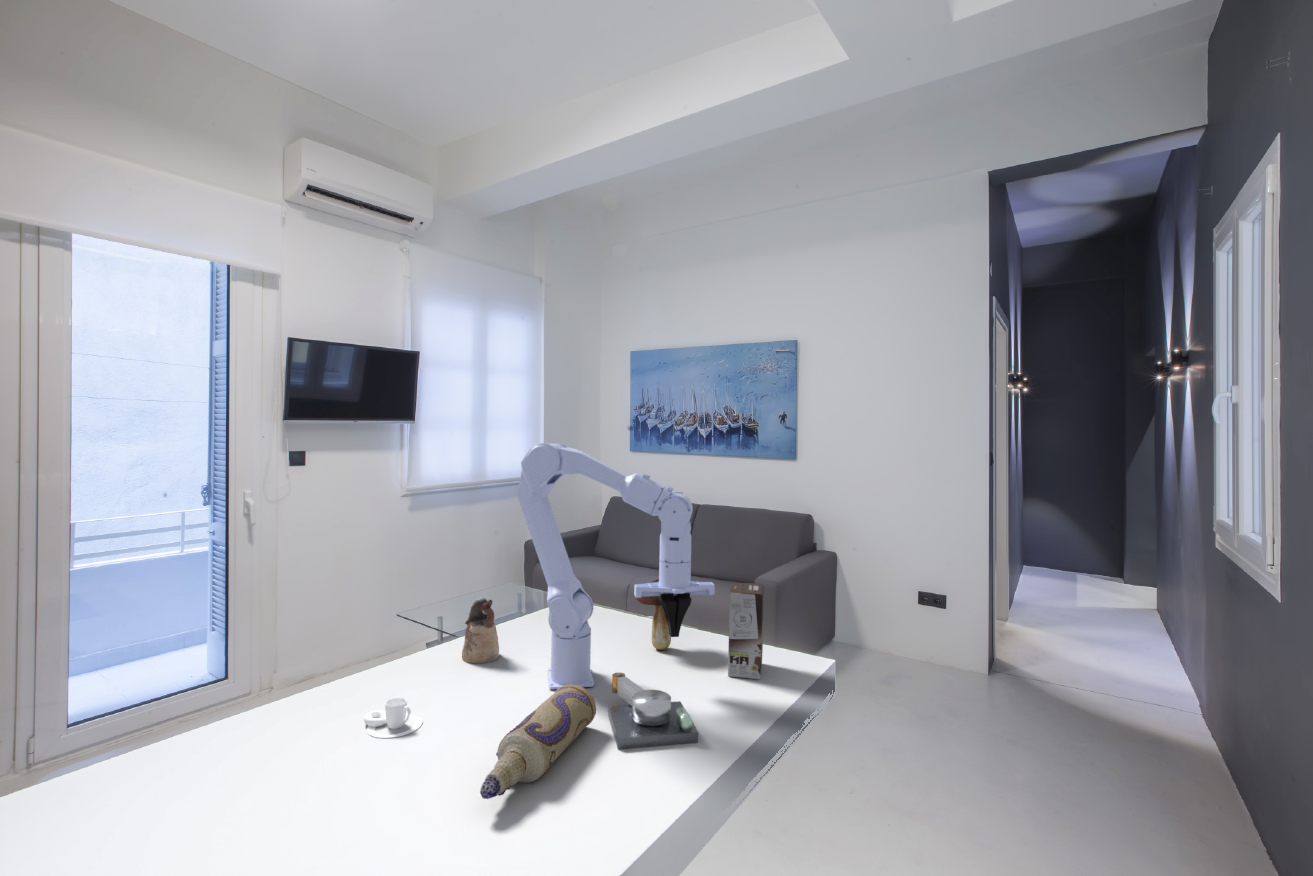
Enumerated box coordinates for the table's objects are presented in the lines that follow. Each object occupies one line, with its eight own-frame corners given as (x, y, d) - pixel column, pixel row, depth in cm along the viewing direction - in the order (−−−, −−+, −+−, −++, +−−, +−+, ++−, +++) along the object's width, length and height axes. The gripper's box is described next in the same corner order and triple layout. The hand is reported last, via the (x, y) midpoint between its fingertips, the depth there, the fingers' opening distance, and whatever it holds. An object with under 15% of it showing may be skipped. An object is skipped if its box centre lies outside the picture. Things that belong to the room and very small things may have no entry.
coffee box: (761, 680, 117) (763, 594, 117) (727, 677, 119) (728, 591, 119) (763, 663, 126) (764, 583, 126) (731, 660, 128) (732, 581, 127)
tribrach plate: (608, 715, 101) (608, 694, 101) (680, 710, 104) (680, 689, 104) (617, 749, 91) (618, 725, 91) (697, 742, 93) (698, 718, 93)
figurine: (483, 649, 132) (484, 592, 132) (506, 656, 128) (507, 597, 128) (455, 658, 126) (456, 598, 126) (477, 666, 122) (478, 604, 122)
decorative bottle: (553, 721, 99) (554, 679, 99) (597, 729, 97) (598, 686, 97) (453, 813, 75) (454, 757, 75) (508, 827, 73) (510, 769, 73)
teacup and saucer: (355, 727, 97) (356, 700, 97) (405, 711, 103) (406, 686, 103) (380, 746, 91) (380, 718, 91) (432, 728, 97) (432, 702, 97)
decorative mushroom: (690, 643, 137) (691, 575, 137) (681, 660, 127) (682, 586, 127) (642, 639, 140) (643, 572, 140) (628, 655, 129) (630, 583, 129)
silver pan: (678, 720, 96) (678, 700, 96) (644, 729, 93) (644, 709, 93) (630, 685, 109) (631, 668, 109) (599, 692, 106) (600, 674, 106)
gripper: (639, 565, 108) (638, 644, 108) (720, 563, 111) (718, 640, 111) (632, 557, 115) (631, 631, 115) (708, 556, 118) (707, 628, 118)
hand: (673, 635), depth 113 cm, fingers closed
